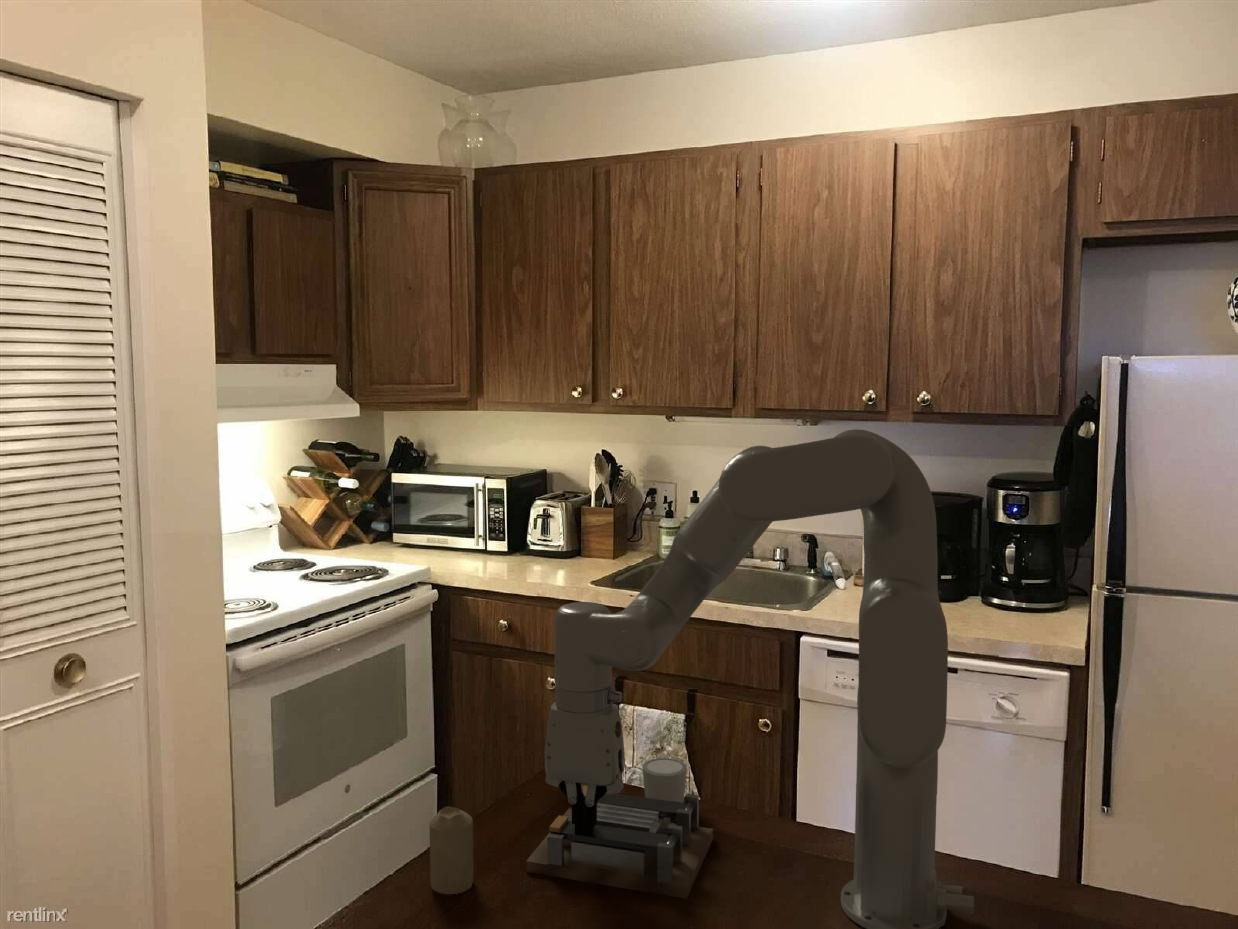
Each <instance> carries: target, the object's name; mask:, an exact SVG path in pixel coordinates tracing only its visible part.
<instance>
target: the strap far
mask: <svg viewBox="0 0 1238 929" xmlns="http://www.w3.org/2000/svg"><path fill="white" fill-rule="evenodd" d="M586 792H587V786H583V794H584V796H586ZM598 803H600V804H607V805H614V806H621V807H628V808H636V809H643V810H650V811H657V812H659V816H660V817H668V818H670V819H675V820H676V812H677V810H678V809H683V810H690V811H691V813H692V811H693V809H694V807H695V805H694V803H693V802H688V803H685V802H684V803H683V802H675V801H667V800H660V799H652V798H645V796H637V795H636V796H635V795H629V794H628V795H627V794H621V793H616V794H605V795H604V796H603V797H602V798H600V799H599V800H598V801H597V804H598Z"/></svg>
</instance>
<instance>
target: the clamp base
mask: <svg viewBox="0 0 1238 929" xmlns="http://www.w3.org/2000/svg"><path fill="white" fill-rule="evenodd" d="M699 796H700V795H699V794H691V793H686V794H684V803H688V802H693V803H694V805H695V807H694V809H693V811H692V813H691V811H690V810H683V809H678V810H677V812H676V819H675V820H676V821H675V822H676V823H673V822H671V818H668V817H660V816H659V812H657V811H650V810H643V809H636V808H628V807H621V806H614V805H607V804H600V803H598V804H597V823H596V825H601V826H608V827H615V828H622V829H629V830H636V831H643V832H650V833H657V834H664V835H671V834H676V835H677V837H678V840H677V842H676V844H675V846H674V848H673V844H667V843H660V842H659V844H658V846H657V853H655V852H648V851H642V850H635V849H628V848H621V847H615V846H608V845H601V844H594V843H588V842H581V841H574V840H568V839H564V835H559V834H553V833H550V831H549V832H548V834H547V835H546V836H545V838H544V839H543V840H542V841H541V842H540V843H539V845H538V846H536V849H534V851H533V852H532V853H531V854H530V856H529V857H528V858H527V860H526V861H525V863H526V864H525V865H526V866H525V867H526V869H525V870H526V871H525V872H526V873H530V874H536V875H542V876H543V875H544V876H549V877H554V878H562V879H565V880H566V879H568V880H571V881H572V880H573V881H579V882H584V883H589V884H590V883H591V884H597V885H602V886H609V887H614V888H618V889H619V888H622V889H627V890H633V891H639V892H645V893H650V894H656V895H661V896H668V897H675V898H682V899H688V897H689V895H690V892H691V890H692V888H693V885H694V883H695V881H696V879H697V876H698V874H699V872H700V870H701V867H702V866H703V863H704V860H705V859H706V856H707V854H708V852H709V848H710V847H711V844H712V842H713V840H714V828H709V827H701V826H699V822H700V821H699V820H700V819H699V817H700V816H699V815H700V811H699V810H700V809H699V808H700V806H699V805H700V803H699V802H700V801H699V800H700V799H699V798H700V797H699ZM562 816H567V817H568V821H572V807H568V809H567V810H566V812H564V814H563V815H562Z"/></svg>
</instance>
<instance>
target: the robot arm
mask: <svg viewBox="0 0 1238 929" xmlns="http://www.w3.org/2000/svg"><path fill="white" fill-rule="evenodd" d="M856 510H857V511H858V510H860V512H861V515H862V521H863V582H862V583H863V586H862V596H861V601H860V607H859V612H858V614H859V615H858V684H857V685H858V686H857V687H858V688H857V695H856V696H857V697H856V700H857V701H856V702H857V703H856V704H857V706H856V708H857V710H856V711H857V724H856V725H857V726H856V728H857V729H856V730H857V732H856V733H857V738H856V740H857V742H856V745H857V746H856V780H855V781H856V782H855V810H854V811H855V818H854V824H855V826H854V858H853V859H854V861H853V864H854V865H853V879H851V880H850V881H849V882H847V883H846V884H845V885H844V886H843V887H842V889H841V892H840V904H841V908H842V910H843V911H844V914H846V915H847V917H848V918H850V919H851V920H852V921H853V922H854V923H856V925H857V924H858V925H859V926H860V927H862V928H864V929H939V928H940V927H942V926H943V927H944V925H945V924H946V922H945V921H947V910H950V911H957V912H960V913H967V914H972V915H973V914H974V912H975V910H974V909H975V899H974V898H975V897H974V896H972V895H965V894H963V887H962V886H959V885H947V884H943V882H942V881H938V879H937V878H938V875H937V869H935V863H936V861H935V860H936V859H935V858H936V835H937V834H936V830H937V800H938V798H937V797H938V796H937V795H938V778H939V777H938V774H939V772H938V770H939V769H938V767H939V766H938V765H939V749H940V748H941V746H942V744H943V743H944V738H945V735H946V730H947V729H946V728H947V712H948V711H947V708H948V707H947V706H948V670H949V669H948V668H949V665H948V664H949V662H948V661H949V659H948V658H949V643H948V642H949V640H948V638H949V637H948V626H947V620H946V617H945V614H944V611H943V607H942V604H941V601H940V597H939V588H938V585H939V584H938V582H939V581H938V571H939V570H938V566H939V564H938V562H939V560H938V559H939V558H938V531H937V530H938V529H937V528H938V527H937V514H936V507H935V501H934V498H933V494H932V492H931V488H930V486H929V483H928V481H927V478H926V477H925V476H924V473H923V472H922V470H921V468H920V467H919V465H918V464H917V463H916V462H915V461H914V459H913V458H912V457H911V456H910V455H909V454H908V453H907V452H906V451H905V450H903V449H902V448H901V447H899V446H898V445H897V444H895V443H894V442H892V441H891V440H889V439H887V438H885V437H884V436H881V435H879V434H877V433H875V432H873V431H869V430H866V429H855V428H854V429H848V430H845V431H842V432H839V433H838V434H837V435H835V436H833V437H831V438H826V439H825V438H824V439H820V440H814V441H811V442H810V441H809V442H803V443H798V444H792V445H791V444H790V445H786V446H785V445H784V446H779V447H778V446H777V447H770V446H766V445H753V446H750V447H747V448H745V449H743V450H742V451H740V452H739V453H737V454H735V455H734V456H733V457H732V458H730V460H728V462H727V463H725V465H724V467H723V469H722V471H721V474H720V476H719V478H718V479H717V481H716V482H715V483H714V484H713V486H712V487H711V489H710V490H709V491H708V493H707V494H706V495H705V497H704V498H703V499H702V500H701V501H700V503H699V504H698V505H697V506H696V508H695V510H694V511H692V513H691V514H690V515H689V517H688V518H687V520H686V521H685V522H684V523H683V525H681V527H680V528H679V530H678V532H676V535H675V536H674V538H673V540H672V543H671V548H670V550H669V551H668V553H667V555H666V557H665V558H664V560H663V561H662V563H661V564H660V566H659V567H658V569H657V570H656V572H654V574H653V575H652V576H651V578H650V579H649V581H647V583H646V584H645V585H644V587H643V588H642V589H641V591H640V592H639V593H638V594H637V595H636V597H635V598H634V599H633V600H632V601H631V602H630V604H628V605H627V606H626V607H625V608H624V609H623V610H621V611H618V612H615V613H611V612H610V609H609V608H608V607H607V606H606V605H604V604H601V603H598V602H593V601H577V602H570V603H567V604H563V605H561V606H560V607H559V608H557V610H556V611H555V614H554V680H555V681H554V684H555V685H554V702H553V703H552V704H551V706H550V710H549V715H548V721H547V727H546V735H545V747H544V770H545V778H544V779H545V780H544V781H545V783H546V784H548V785H549V786H553V787H555V788H558V789H560V791H561V792H563V793H562V794H564V795H565V796H566V798H567V800H568V803H569V804H570V805H571V809H572V824H575V834H579V833H581V832H582V834H583V835H587V834H588V833H589V831H590V830H591V829H592V827H595V825H596V823H597V801H598V800H599V799H600V798H602V797H603V796H604V795H605V794H621V792H622V790H623V789H624V786H625V784H624V781H623V777H622V774H623V773H624V771H625V769H626V768H625V766H626V765H625V762H626V756H625V743H624V733H623V726H622V724H623V723H622V719H621V713H620V709H619V706H618V704H615V703H621V702H622V699H623V692H622V691H617V690H615V688H614V683H613V680H612V679H613V669H612V668H617V669H620V670H625V671H630V672H638V671H639V672H640V671H644V670H647V669H648V668H650V667H652V666H654V665H655V663H657V661H658V660H659V659H660V658H661V656H662V655H663V654H664V652H665V650H666V649H667V647H668V646H669V645H670V644H671V643H672V641H673V640H674V639H675V638H676V636H677V634H678V633H679V632H680V631H681V630H682V628H684V626H685V624H686V623H687V622H688V621H689V619H690V618H691V617H692V615H693V614H694V613H695V612H696V611H697V609H698V608H699V607H700V606H701V604H702V603H703V602H704V601H705V600H706V598H707V597H708V596H709V595H710V594H711V592H712V591H713V590H714V589H715V588H717V586H719V585H720V584H723V583H724V582H725V581H726V580H727V579H728V577H729V576H730V575H731V574H732V573H733V572H734V571H735V569H736V568H737V567H738V565H739V564H740V563H741V562H742V560H743V559H744V558H745V557H746V556H747V554H748V553H749V552H750V550H752V548H753V547H754V545H755V544H756V543H757V541H758V540H759V539H760V538H761V537H762V535H763V534H764V533H765V532H766V530H767V529H768V528H769V527H770V525H771V524H772V523H773V522H783V521H789V520H795V519H796V520H797V519H804V518H809V517H815V516H816V517H817V516H823V515H825V516H826V515H831V514H832V515H833V514H840V513H845V512H852V511H856ZM582 784H588V785H587V792H586V796H584V794H583V786H582ZM943 927H942V928H943ZM940 929H941V928H940Z"/></svg>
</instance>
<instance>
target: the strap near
mask: <svg viewBox="0 0 1238 929" xmlns="http://www.w3.org/2000/svg"><path fill="white" fill-rule="evenodd" d="M548 830H549V832H550V833H553V834H559V835H564V839H568V840H574V841H581V842H588V843H594V844H601V845H608V846H615V847H621V848H628V849H635V850H642V851H648V852H655V853H657V846H658V844H659V842H660V843H667V844H673V848H674V846H675V844H676V842H677V840H678V837H677V835H676V834H671V835H664V834H657V833H650V832H643V831H636V830H629V829H622V828H615V827H608V826H601V825H595V827H592V829H591V830H590V831H589V833H588V834H587V835H583V834H582V832H581V833H579V834H575V824H572V821H568V817H567V816H563V815H559V814H558V816H557V817H556V818H555V819H554V821H553V822H552V823H551V824H550V825H549V829H548Z"/></svg>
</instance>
